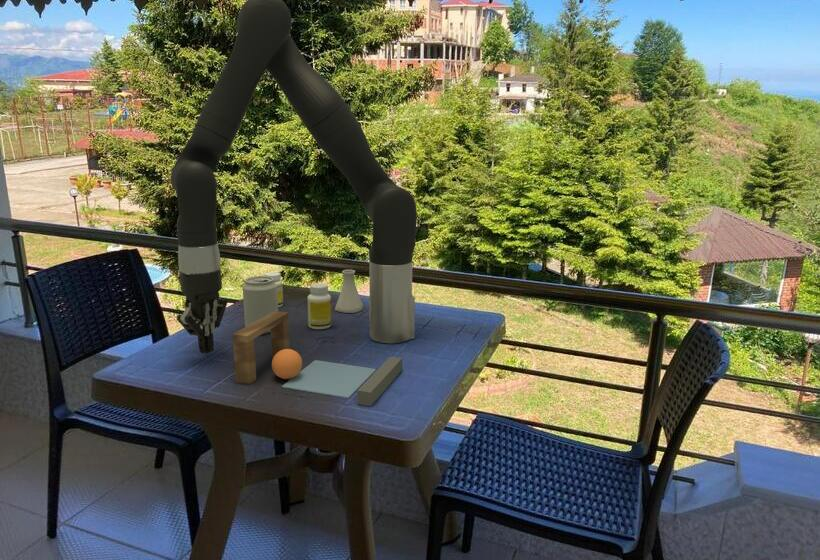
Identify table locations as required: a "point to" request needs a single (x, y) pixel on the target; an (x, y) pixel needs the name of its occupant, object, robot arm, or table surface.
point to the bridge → (245, 343)
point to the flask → (349, 295)
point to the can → (259, 298)
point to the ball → (287, 363)
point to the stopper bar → (379, 381)
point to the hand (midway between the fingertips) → (206, 352)
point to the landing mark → (330, 378)
